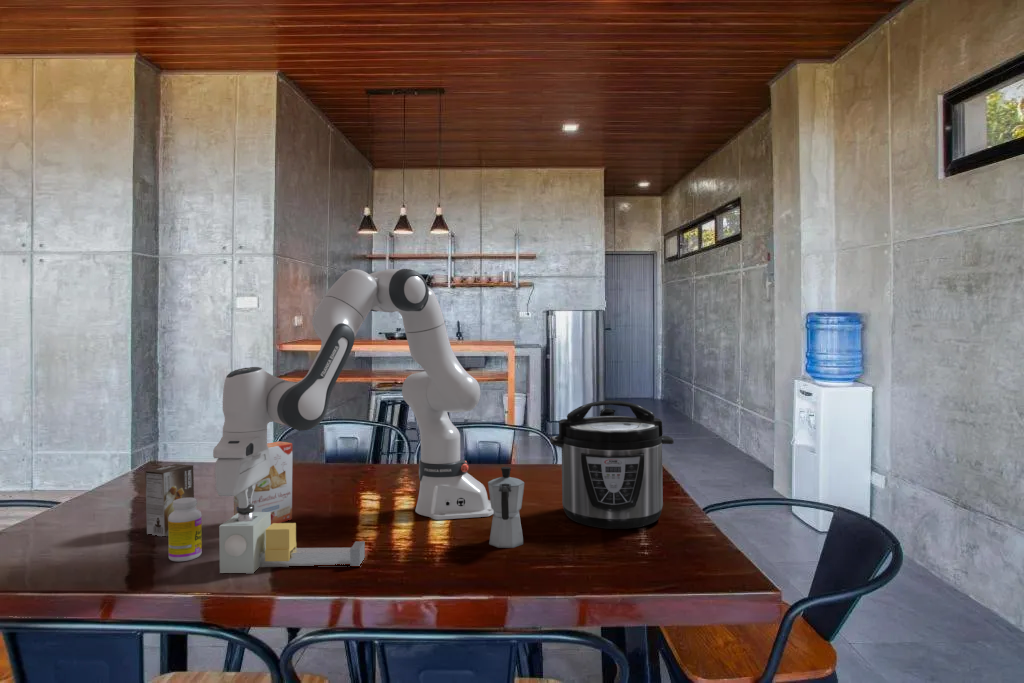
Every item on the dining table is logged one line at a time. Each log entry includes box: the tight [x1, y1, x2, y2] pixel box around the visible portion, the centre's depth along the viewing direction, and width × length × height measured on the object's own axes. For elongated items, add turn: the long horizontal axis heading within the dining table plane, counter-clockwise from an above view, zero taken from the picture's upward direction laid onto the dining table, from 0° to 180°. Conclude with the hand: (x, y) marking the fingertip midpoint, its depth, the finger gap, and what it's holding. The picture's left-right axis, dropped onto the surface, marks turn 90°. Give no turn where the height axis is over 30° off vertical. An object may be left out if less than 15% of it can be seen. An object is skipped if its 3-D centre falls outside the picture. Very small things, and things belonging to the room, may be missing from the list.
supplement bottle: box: [167, 497, 203, 562], centre depth 140 cm, size 7×7×13 cm
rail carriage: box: [265, 522, 297, 561], centre depth 135 cm, size 5×5×7 cm
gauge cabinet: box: [218, 512, 271, 574], centre depth 135 cm, size 7×11×10 cm, turn 1°
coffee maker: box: [487, 466, 525, 549], centre depth 148 cm, size 15×9×18 cm, turn 178°
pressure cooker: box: [549, 400, 674, 530], centre depth 169 cm, size 30×28×32 cm
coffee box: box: [145, 463, 195, 537], centre depth 158 cm, size 9×6×16 cm
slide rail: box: [260, 540, 366, 568], centre depth 136 cm, size 22×5×4 cm, turn 91°
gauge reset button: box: [237, 504, 254, 521], centre depth 135 cm, size 3×3×7 cm
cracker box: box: [233, 441, 293, 524], centre depth 163 cm, size 14×6×21 cm, turn 148°
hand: (245, 506), depth 135 cm, fingers closed, pressing on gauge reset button
